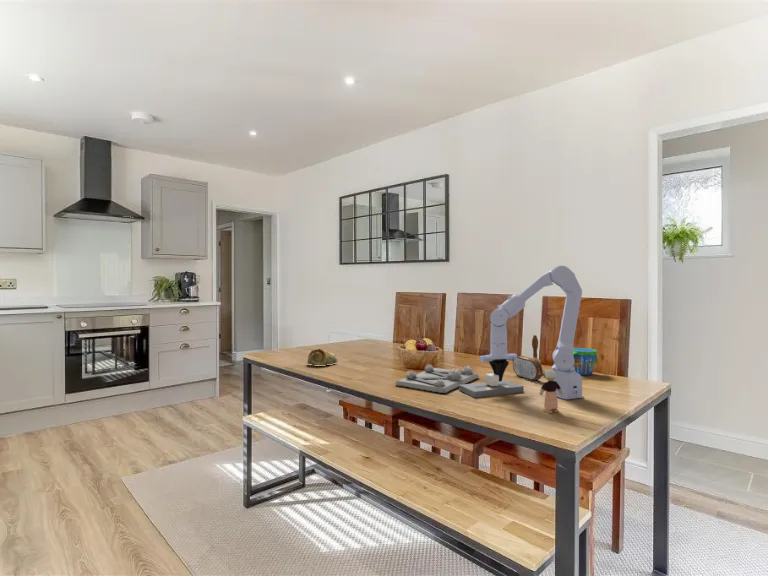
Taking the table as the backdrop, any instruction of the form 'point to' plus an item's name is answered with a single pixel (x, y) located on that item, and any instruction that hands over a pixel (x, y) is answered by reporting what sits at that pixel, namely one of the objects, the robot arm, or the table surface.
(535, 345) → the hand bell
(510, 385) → the switch board
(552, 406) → the grandmother figurine
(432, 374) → the grey knobbed board
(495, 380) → the switch tab
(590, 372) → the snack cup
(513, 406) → the table surface
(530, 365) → the tin
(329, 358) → the pastry
